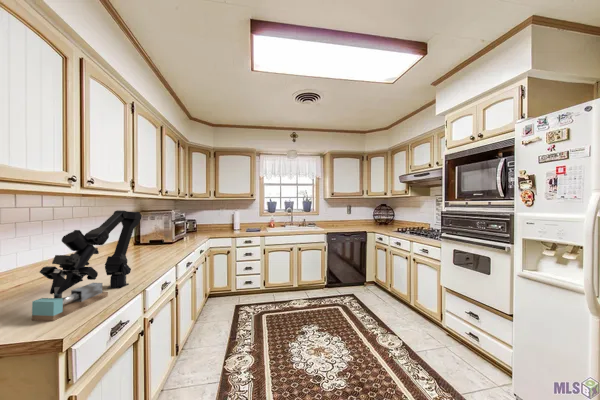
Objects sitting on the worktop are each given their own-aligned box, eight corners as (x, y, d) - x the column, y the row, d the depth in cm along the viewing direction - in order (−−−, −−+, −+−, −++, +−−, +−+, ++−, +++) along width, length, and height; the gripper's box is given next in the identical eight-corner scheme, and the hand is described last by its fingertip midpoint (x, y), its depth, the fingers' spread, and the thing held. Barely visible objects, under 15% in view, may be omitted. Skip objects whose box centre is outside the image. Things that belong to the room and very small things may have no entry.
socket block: (41, 311, 91) (42, 297, 91) (62, 311, 91) (62, 298, 91) (31, 315, 88) (32, 301, 88) (53, 315, 87) (53, 301, 88)
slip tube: (77, 297, 102) (78, 278, 102) (84, 297, 102) (85, 279, 102) (43, 311, 89) (43, 290, 89) (50, 311, 89) (51, 290, 89)
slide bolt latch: (90, 295, 111) (91, 281, 111) (107, 296, 111) (108, 282, 111) (31, 320, 88) (32, 302, 88) (53, 320, 87) (53, 303, 88)
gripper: (44, 246, 97) (11, 283, 86) (92, 246, 97) (65, 283, 86) (63, 261, 105) (35, 297, 94) (107, 261, 105) (84, 297, 94)
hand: (54, 293), depth 91 cm, fingers closed on slip tube, 2 cm apart
